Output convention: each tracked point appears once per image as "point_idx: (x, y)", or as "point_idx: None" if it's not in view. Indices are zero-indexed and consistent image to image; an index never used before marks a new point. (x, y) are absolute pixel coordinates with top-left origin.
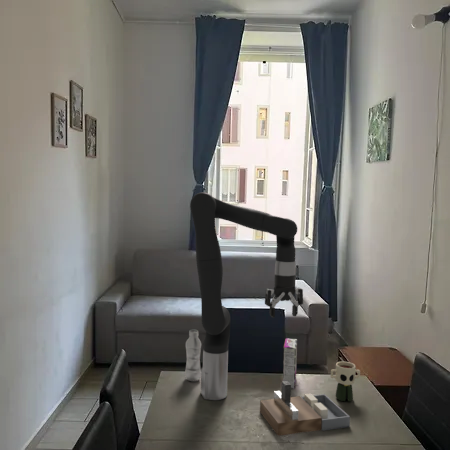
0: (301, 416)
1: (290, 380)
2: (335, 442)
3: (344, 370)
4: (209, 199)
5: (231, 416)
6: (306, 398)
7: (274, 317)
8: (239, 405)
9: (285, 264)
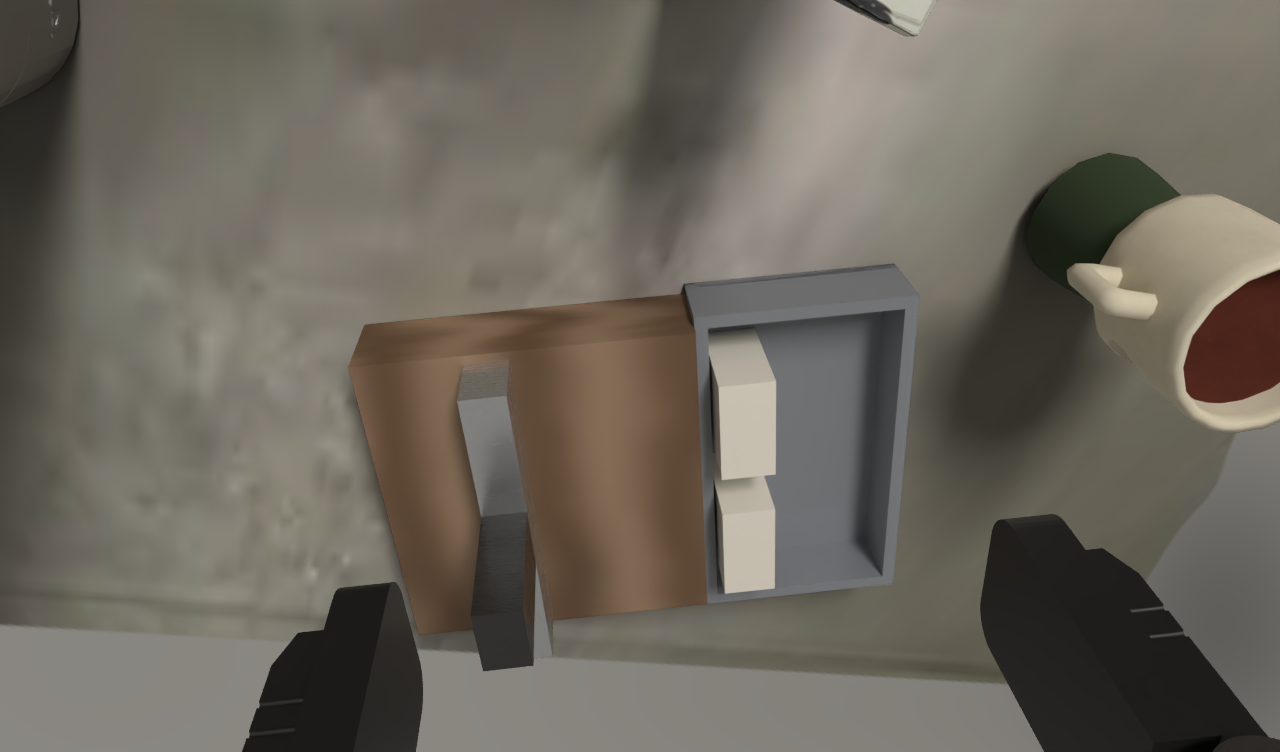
0: (588, 582)
1: None
2: (714, 647)
3: (1180, 409)
4: None
5: (142, 363)
6: (717, 408)
7: (419, 682)
8: (206, 212)
9: None
